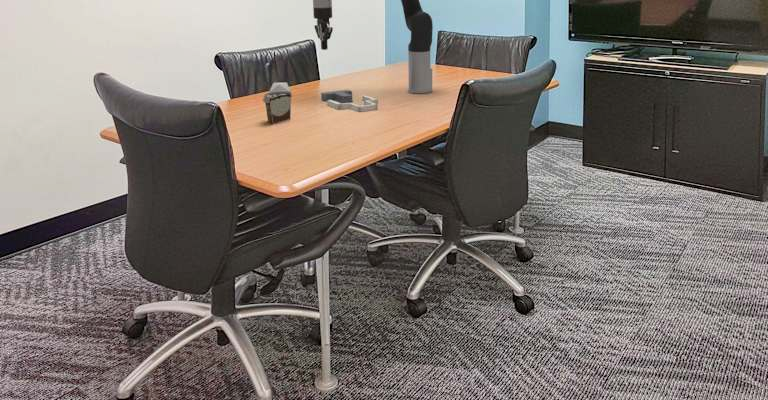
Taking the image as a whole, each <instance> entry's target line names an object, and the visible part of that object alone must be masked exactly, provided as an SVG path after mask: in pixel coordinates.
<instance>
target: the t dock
mask: <svg viewBox="0 0 768 400" xmlns="http://www.w3.org/2000/svg"><path fill="white" fill-rule="evenodd" d="M361 99H362V102H363V105H358V104H356V103H353V102H352V103H343V104H342V103H340V102H337V101H333V100H327V106H328V107H330V108H334V109H336V110H338V111H341V110H347V109H350V110H352V111H355V112H358V113H362V112H368V111H377V110H379V109H378V102H379V101H378V100H379V99H377V98H374V97H371V96H369V95H367V94H365V95H362V97H361Z"/></svg>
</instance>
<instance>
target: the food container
mask: <svg viewBox="0 0 768 400" xmlns="http://www.w3.org/2000/svg"><path fill="white" fill-rule="evenodd" d="M291 93H292V91H291V92H289V91H278V92H270V93H269V92H267V93H265V94H264V95H263V99H262V101H263V102H264V103H265V110H266V116H267V123H268V124H269V123H270V124H269V125H275V124H276V123H277V124H280V123H282V122H286V121H290V120H291V116H292V114H291V113H292V111H291V108H292V107H291V106H292V103H291V99H292V98H293V94H292V95H291ZM277 124H276V125H277Z"/></svg>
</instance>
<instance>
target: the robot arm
mask: <svg viewBox="0 0 768 400" xmlns="http://www.w3.org/2000/svg"><path fill="white" fill-rule="evenodd" d="M400 3H401V6H402V8H403V15H404V20H405V24H406V27H407V29H408V30H409V31H410V41H409V43H408V45H407V46H408V48H407V50H408V52H407V53H408V54H407V55H408V58H407V59H408V62H407V63H408V72H407V73H408V93H410V94H427V93H430V92H433V68H431V47H432V44H433V27H434V26H433V19H432V16H431V15H430V14H429V13H427V11H426V12H425V11H424V10H423V8H422V6H421V5H422V4H421V2H420V0H400ZM312 6H313V7H312V11H313V18H314V19H316V25H314V30H315V32H316V35H317V38H318V39H319V41H320V49H321V50H324V51H328V41H329V40H330V39H331V36H332V33H333V30H334V29H333V27H332V26H330V24H331V23H330V19H332V18H333V1H332V0H312Z"/></svg>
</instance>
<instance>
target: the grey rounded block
mask: <svg viewBox="0 0 768 400" xmlns="http://www.w3.org/2000/svg"><path fill="white" fill-rule="evenodd" d="M278 91H289V92H291V95H292V96H293V94H292V91H291V89H290V87H289V84H288V82H273V83H272V85H271V87H270V89H269V91H268V93H270V92H278Z"/></svg>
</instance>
